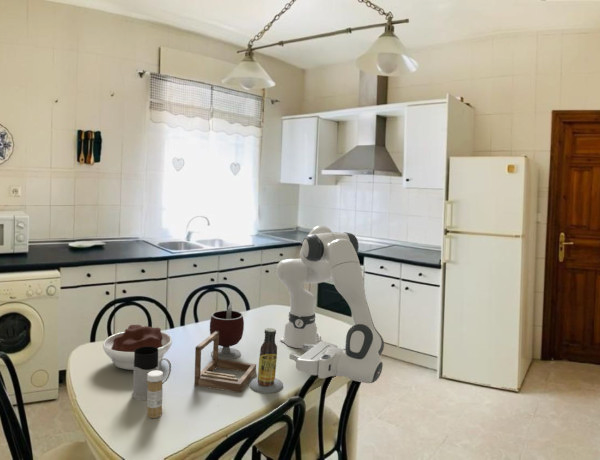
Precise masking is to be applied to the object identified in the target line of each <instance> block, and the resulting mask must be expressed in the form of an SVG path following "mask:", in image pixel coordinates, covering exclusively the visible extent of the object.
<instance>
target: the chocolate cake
mask: <svg viewBox="0 0 600 460" xmlns="http://www.w3.org/2000/svg"><path fill="white" fill-rule="evenodd" d="M172 344H173V339H172V337H171V336H170V335H169V333H165V332H164V331H162V329H161V328H160V327H158V326H157V327H151V326H147V325H145V326H142V325H141V324H130V325H129V326H128V328H125V330H124V331H123V332H118V333H115V334H112V335H110V336H108V337H107V338H106V339H104V341H103V343H102V350H103V351H104V353H105V355H106V356H107V357H108V358H110V359H111V361H112V363H113V365H114V366H115V367H117V368H120V369H123V370H127V371H128V370H131V371H132V370H133V371H134V351H135V350H136V349H138V348H140V347H155V348H157V349H158V364H159V362H160V360H161V359H163V358H164V356H165V355H166V353H167V352H168V351H169V350H170V348H171V347H172Z"/></svg>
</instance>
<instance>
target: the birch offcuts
mask: <svg viewBox="0 0 600 460" xmlns="http://www.w3.org/2000/svg"><path fill="white" fill-rule="evenodd" d="M202 377H209V378H216V379H222V380H229V381H236V382H238V381H239V378H237V377H236V375H235V374H230V373H223V372H216V371H213V372H210V371H206V373H203V376H202Z"/></svg>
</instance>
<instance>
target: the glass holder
mask: <svg viewBox="0 0 600 460" xmlns="http://www.w3.org/2000/svg"><path fill="white" fill-rule="evenodd" d="M164 360H165V361H166V362H167V363H168V373H167V377H166V379H164V381H162V385H163V384H165V383H166V382H167V381H168V379H169V378H170V376H171V371H172V363H171V360H169V359H168V358H166V357H163V358H162V359H161V360H160V362H159V363H158V349H157V348H155V347H140V348H138V349H136V350H135V351H134V370H133V376H132V377H133V380H132V381H133V382H132V383H133V386H132V387H133V388H132V392H131V398H133V399H134V400H139V401H146V400H147V389H148V380H147V374H148V373H149V372H151V371H155V370H158V371H160V370H161V365H162V361H164Z"/></svg>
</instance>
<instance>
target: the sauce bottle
mask: <svg viewBox="0 0 600 460" xmlns="http://www.w3.org/2000/svg"><path fill="white" fill-rule="evenodd" d="M276 335H277V330H276V328H272V327H270V328H269V327H267V328H265V329H264V339H263V343H262V344H261V347H260V351H259V359H258V371H257V378H258V383H259V384H260V385H263V386H270V385H273V384H274V380H275V378H276V372H277V359H278V346H277V344H276Z"/></svg>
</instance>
